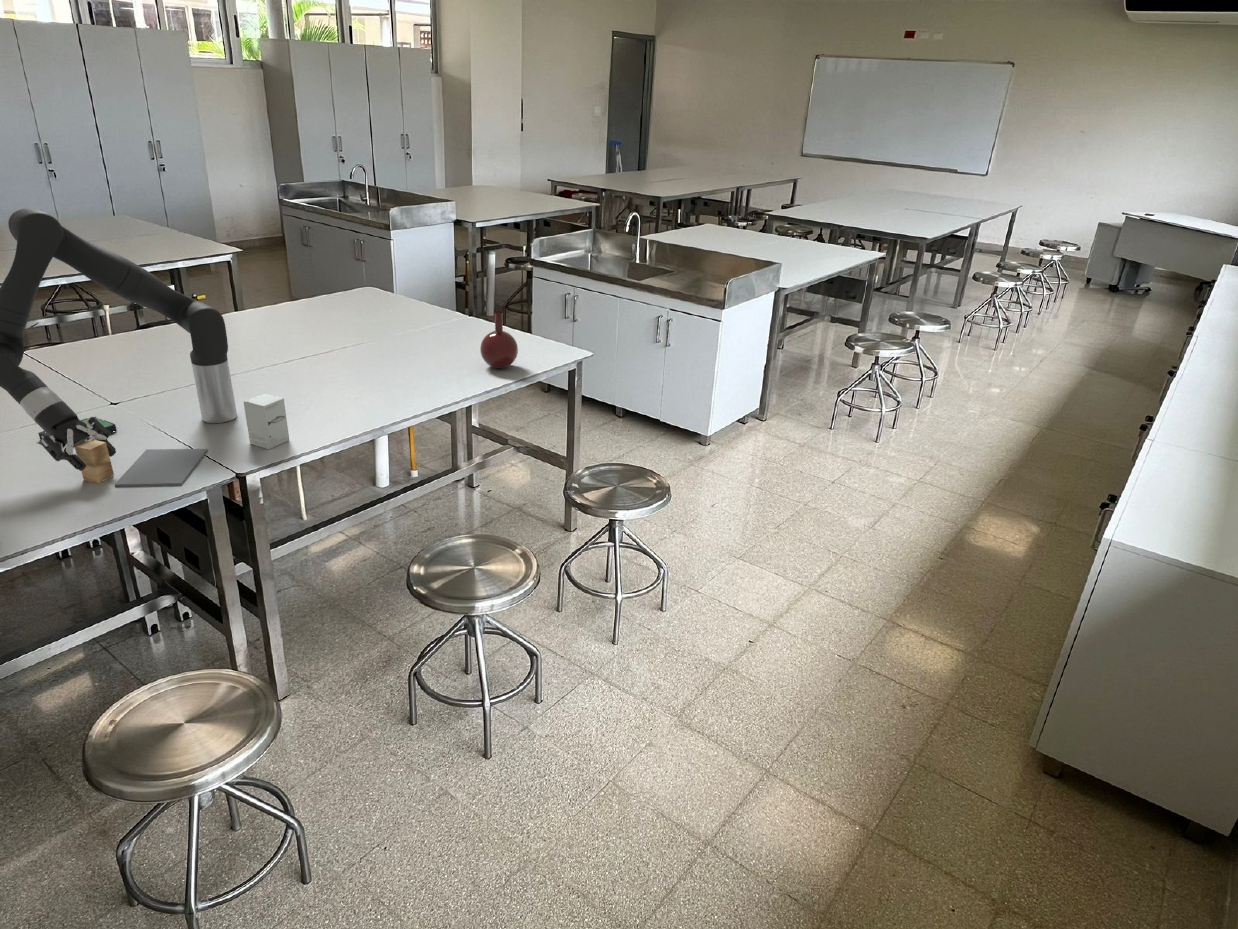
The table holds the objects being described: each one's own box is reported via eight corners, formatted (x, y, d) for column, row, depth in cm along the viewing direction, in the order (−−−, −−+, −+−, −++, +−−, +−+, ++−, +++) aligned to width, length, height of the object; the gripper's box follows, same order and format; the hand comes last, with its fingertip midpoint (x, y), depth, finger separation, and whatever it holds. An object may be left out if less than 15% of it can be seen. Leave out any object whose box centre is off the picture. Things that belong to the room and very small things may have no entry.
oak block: (99, 472, 196) (90, 439, 192) (114, 475, 195) (105, 442, 191) (83, 480, 192) (74, 446, 188) (98, 483, 191) (90, 449, 187)
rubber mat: (146, 451, 207) (146, 449, 207) (207, 450, 210) (207, 448, 209) (114, 486, 190) (114, 484, 189) (182, 485, 192) (181, 483, 192)
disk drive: (62, 451, 206) (118, 432, 218) (59, 442, 205) (116, 423, 217) (39, 442, 211) (96, 424, 222) (36, 432, 209) (93, 414, 221)
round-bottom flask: (486, 374, 274) (485, 318, 266) (476, 363, 285) (475, 308, 276) (522, 371, 279) (522, 316, 271) (511, 360, 290) (511, 306, 281)
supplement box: (269, 450, 212) (262, 406, 207) (249, 444, 215) (242, 400, 209) (290, 440, 218) (284, 397, 213) (270, 434, 221) (264, 392, 215)
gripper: (26, 412, 180) (79, 465, 183) (80, 391, 193) (129, 441, 195) (14, 429, 184) (67, 481, 186) (68, 408, 196) (116, 457, 199)
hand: (99, 461), depth 191 cm, fingers open, 8 cm apart
